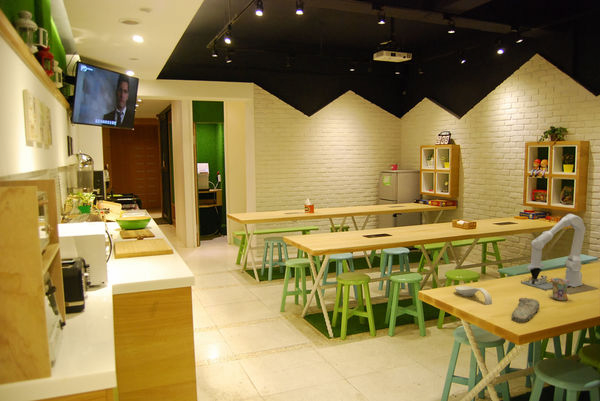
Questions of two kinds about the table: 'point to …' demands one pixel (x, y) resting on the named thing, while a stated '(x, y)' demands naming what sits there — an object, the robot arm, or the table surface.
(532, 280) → the base
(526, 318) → the elongated rock
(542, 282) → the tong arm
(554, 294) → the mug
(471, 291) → the spoon rest
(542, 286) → the mat
